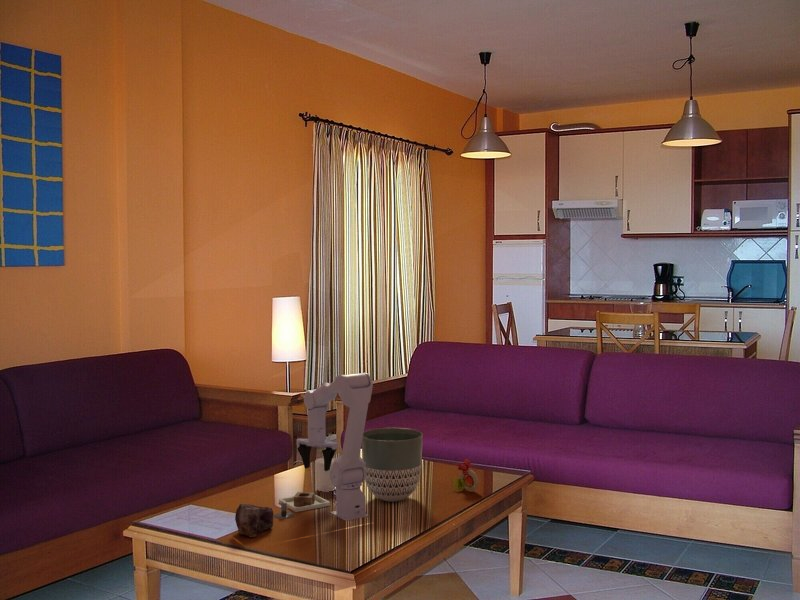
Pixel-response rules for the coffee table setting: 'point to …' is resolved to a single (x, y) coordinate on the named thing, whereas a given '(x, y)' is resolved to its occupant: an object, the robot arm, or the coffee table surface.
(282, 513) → the grey knobbed lid
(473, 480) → the bird rattle
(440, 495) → the coffee table surface
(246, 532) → the rock
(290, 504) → the tray
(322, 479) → the white cup
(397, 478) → the planter
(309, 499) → the brown square frame
